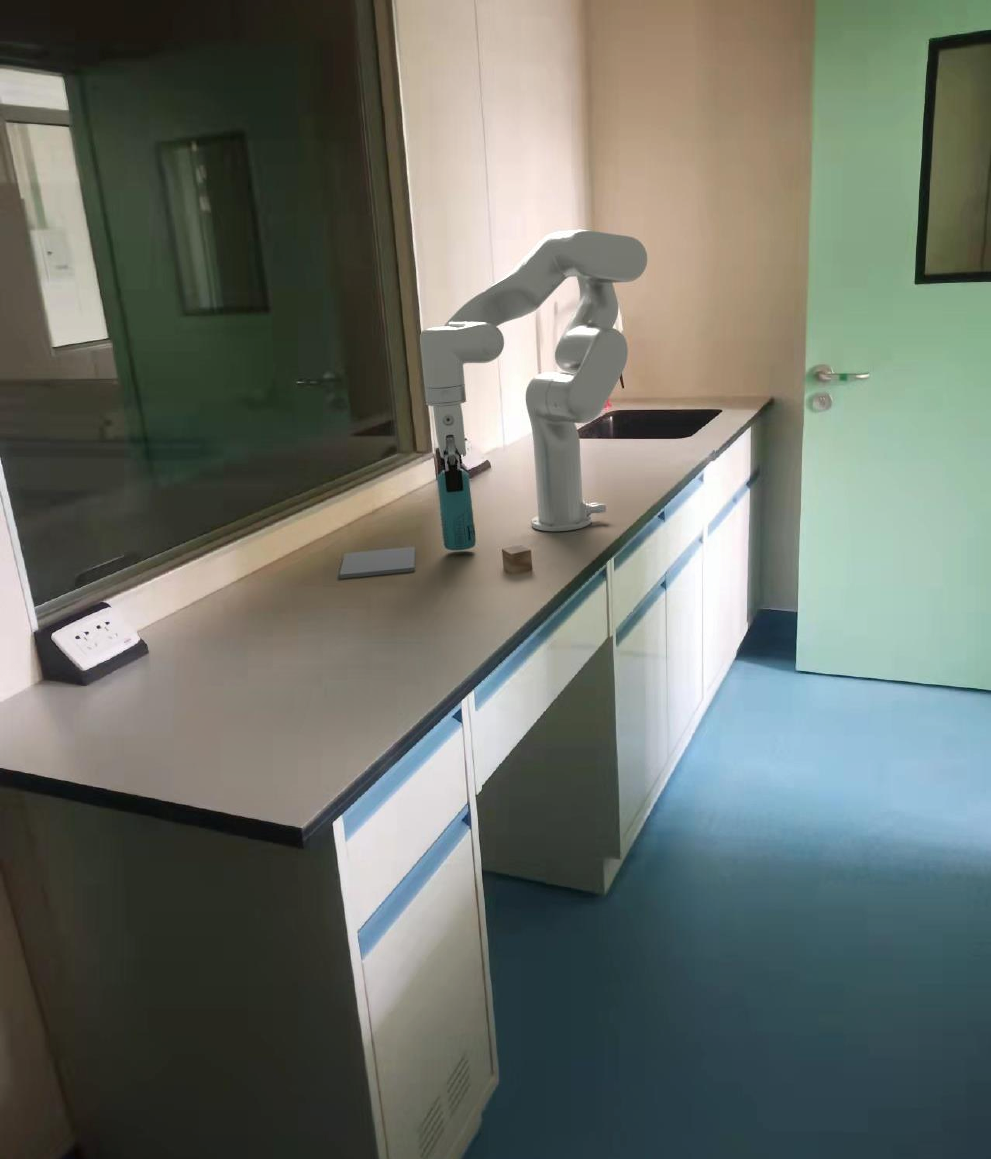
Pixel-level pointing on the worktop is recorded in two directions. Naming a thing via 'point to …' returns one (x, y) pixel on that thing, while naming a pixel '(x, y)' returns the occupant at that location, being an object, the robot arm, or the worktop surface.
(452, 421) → the robot arm
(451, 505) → the beverage bottle
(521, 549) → the walnut block
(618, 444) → the worktop surface
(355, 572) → the rubber mat
